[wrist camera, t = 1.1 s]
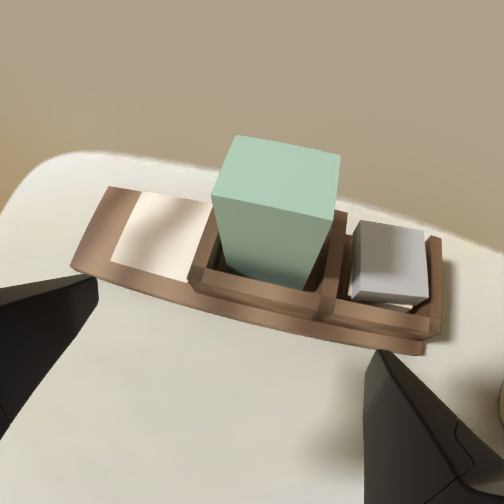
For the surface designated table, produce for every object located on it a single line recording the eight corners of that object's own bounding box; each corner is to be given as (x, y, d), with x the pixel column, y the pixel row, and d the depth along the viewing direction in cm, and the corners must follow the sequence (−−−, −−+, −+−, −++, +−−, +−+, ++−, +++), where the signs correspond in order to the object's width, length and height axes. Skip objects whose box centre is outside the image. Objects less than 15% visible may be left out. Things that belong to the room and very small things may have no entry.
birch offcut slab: (404, 257, 23) (414, 246, 21) (400, 315, 21) (412, 308, 19) (349, 243, 24) (356, 231, 22) (340, 303, 22) (348, 295, 20)
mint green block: (311, 243, 24) (340, 155, 14) (301, 291, 22) (332, 220, 13) (242, 227, 24) (235, 134, 15) (228, 274, 23) (210, 194, 14)
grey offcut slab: (411, 243, 21) (423, 230, 19) (415, 305, 19) (428, 297, 17) (352, 233, 22) (360, 220, 20) (351, 299, 20) (360, 290, 18)
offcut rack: (421, 259, 24) (443, 239, 20) (415, 356, 20) (441, 348, 17) (112, 192, 27) (96, 166, 24) (74, 270, 24) (51, 251, 20)
